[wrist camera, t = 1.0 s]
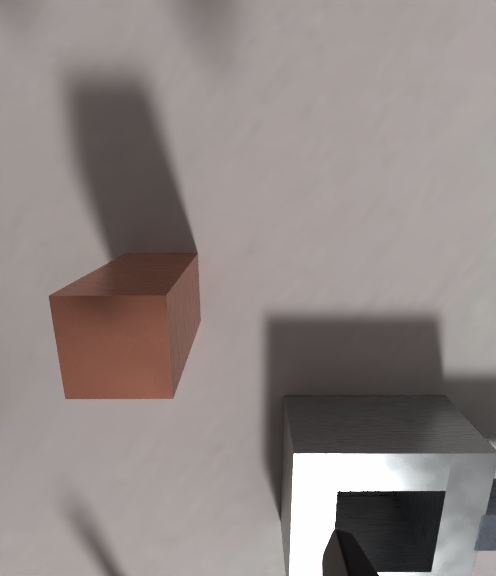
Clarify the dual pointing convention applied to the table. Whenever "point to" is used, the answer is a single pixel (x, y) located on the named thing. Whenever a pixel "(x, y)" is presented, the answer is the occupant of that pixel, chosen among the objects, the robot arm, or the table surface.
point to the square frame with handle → (386, 483)
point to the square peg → (128, 327)
